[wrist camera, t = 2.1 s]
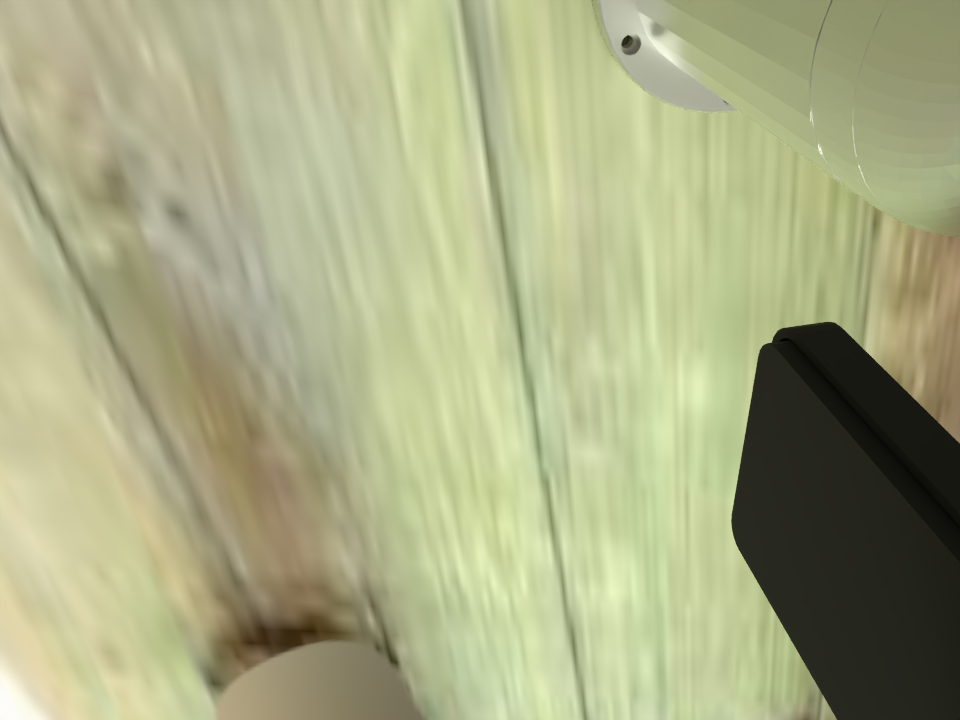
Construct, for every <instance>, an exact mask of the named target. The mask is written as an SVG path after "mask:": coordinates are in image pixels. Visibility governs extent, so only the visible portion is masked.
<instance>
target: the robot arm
mask: <svg viewBox="0 0 960 720" xmlns="http://www.w3.org/2000/svg"><path fill="white" fill-rule="evenodd" d="M592 4H593V9H594V12H595V16H596V19H597V23H598V27H599V30H600V33H601V35H602V37H603V39H604V41H605V43H606V45H607V47H608V49H609V51H610V53H611V55H612V57H613V58H614V60H615V61H616V62H617V63H618V65H619V66H620V67H621V68H622V70H623V71H624V72H625V73H626V74H627V76H628V77H629V78H631V79H632V80H633V81H634V82H635V83H636V84H638V85H639V86H640V87H641V88H642V89H643V90H644V91H646V92H648V93H649V94H651V95H652V96H654V97H656V98H657V99H659V100H660V101H662V102H664V103H667V104H669V105H672V106H675V107H678V108H681V109H684V110H687V111H696V112H705V113H721V112H732V111H737V110H738V111H740V112H741V113H742V114H744V115H745V116H747V117H748V118H749V119H751V120H752V121H754V122H755V123H756V124H758V125H759V126H761V127H762V128H763V129H765V130H766V131H768V132H769V133H770V134H772V135H773V136H775V137H776V138H777V139H779V140H780V141H782V142H783V143H784V144H786V145H787V146H789V147H790V148H792V149H793V150H794V151H796V152H797V153H799V154H800V155H801V156H803V157H804V158H806V159H807V160H808V161H810V162H811V163H813V164H814V165H815V166H817V167H818V168H820V169H821V170H822V171H824V172H825V173H827V174H828V175H829V176H831V177H832V178H834V179H835V180H836V181H838V182H839V183H841V184H842V185H843V186H845V187H846V188H848V189H849V190H850V191H852V192H853V193H855V194H856V195H857V196H860V197H861V198H863V199H864V200H866V201H867V202H869V203H870V204H871V205H873V206H874V207H876V208H877V209H878V210H880V211H882V212H884V213H886V214H887V215H889V216H891V217H893V218H895V219H896V220H898V221H900V222H902V223H905V224H907V225H910V226H912V227H915V228H918V229H920V230H924V231H927V232H931V233H936V234H941V235H948V236H955V237H960V0H592ZM627 35H629V37H630V40H629V42H628V43H627V45H624V46H622V45H621V43H622V40H623V39H624V38H625V37H626V36H627ZM731 522H732V531H733V535H734V539H735V542H736V544H737V547H738V549H739V551H740V552H741V554H742V556H743V557H744V559H745V561H746V563H747V564H748V566H749V568H750V570H751V571H752V573H753V575H754V577H755V578H756V580H757V582H758V583H759V585H760V587H761V589H762V590H763V592H764V594H765V596H766V597H767V599H768V601H769V602H770V604H771V606H772V608H773V609H774V611H775V613H776V615H777V616H778V618H779V620H780V622H781V623H782V625H783V627H784V628H785V630H786V632H787V634H788V635H789V637H790V639H791V641H792V642H793V644H794V646H795V648H796V649H797V651H798V653H799V654H800V656H801V658H802V660H803V661H804V663H805V665H806V667H807V668H808V670H809V672H810V673H811V675H812V677H813V679H814V680H815V682H816V684H817V686H818V687H819V689H820V691H821V693H822V694H823V696H824V698H825V699H826V701H827V703H828V705H829V706H830V708H831V710H832V712H833V713H834V715H835V717H836V718H837V720H960V443H959V442H957V441H956V440H955V439H954V438H953V437H952V436H951V435H950V434H949V433H948V432H947V431H946V430H945V429H944V428H943V427H942V426H941V425H940V424H939V423H938V422H937V421H936V420H935V419H934V418H933V417H932V416H931V415H930V414H929V413H928V412H927V411H926V410H925V409H924V408H923V407H922V406H921V405H920V404H919V403H918V402H917V401H916V400H915V399H914V398H913V397H912V396H911V395H910V394H909V393H908V392H907V391H906V390H905V389H904V388H903V387H902V386H900V385H899V384H898V383H897V382H896V381H895V380H894V379H893V378H892V377H891V376H890V375H889V374H888V373H887V372H886V371H885V370H884V369H883V368H882V367H881V366H880V365H879V364H878V363H877V362H876V361H875V360H874V359H873V358H872V357H871V356H870V355H869V354H868V353H867V352H866V351H865V350H864V349H863V348H862V347H861V346H860V345H859V344H858V343H857V342H856V341H855V340H854V339H853V338H852V337H851V336H850V335H849V334H848V333H847V332H846V331H845V330H843V329H842V328H841V327H840V326H839V325H837V324H836V323H833V322H823V323H816V324H809V325H802V326H795V327H788V328H782V329H780V330H779V331H777V333H776V334H775V336H774V337H773V341H772V343H767V344H765V345H763V346H762V348H761V350H760V353H759V356H758V362H757V368H756V374H755V380H754V386H753V392H752V398H751V404H750V410H749V416H748V422H747V428H746V433H745V439H744V445H743V451H742V457H741V463H740V469H739V475H738V481H737V487H736V493H735V499H734V505H733V511H732V520H731Z"/></svg>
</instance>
